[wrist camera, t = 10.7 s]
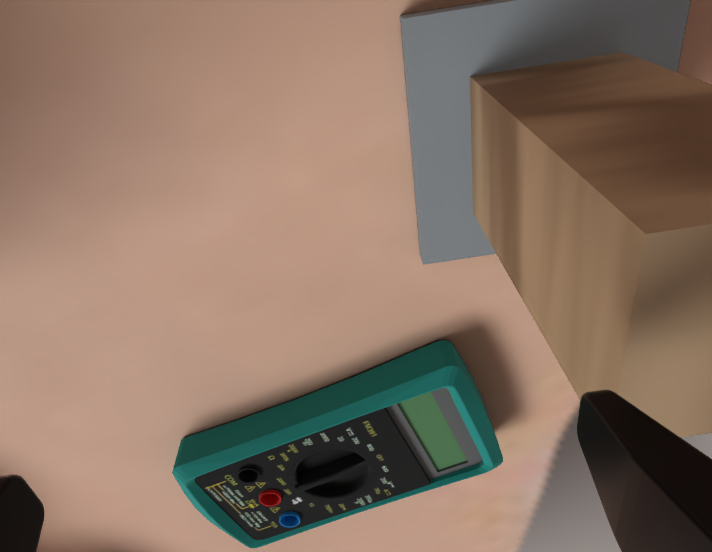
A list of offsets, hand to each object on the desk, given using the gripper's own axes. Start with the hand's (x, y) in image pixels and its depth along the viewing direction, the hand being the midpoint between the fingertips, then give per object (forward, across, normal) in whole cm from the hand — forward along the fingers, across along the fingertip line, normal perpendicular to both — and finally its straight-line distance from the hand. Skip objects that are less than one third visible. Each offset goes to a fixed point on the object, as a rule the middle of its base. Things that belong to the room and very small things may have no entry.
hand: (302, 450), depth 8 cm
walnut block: (+12, -8, 0) cm, 15 cm away
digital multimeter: (+14, +1, +15) cm, 20 cm away
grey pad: (+13, -8, 0) cm, 15 cm away
